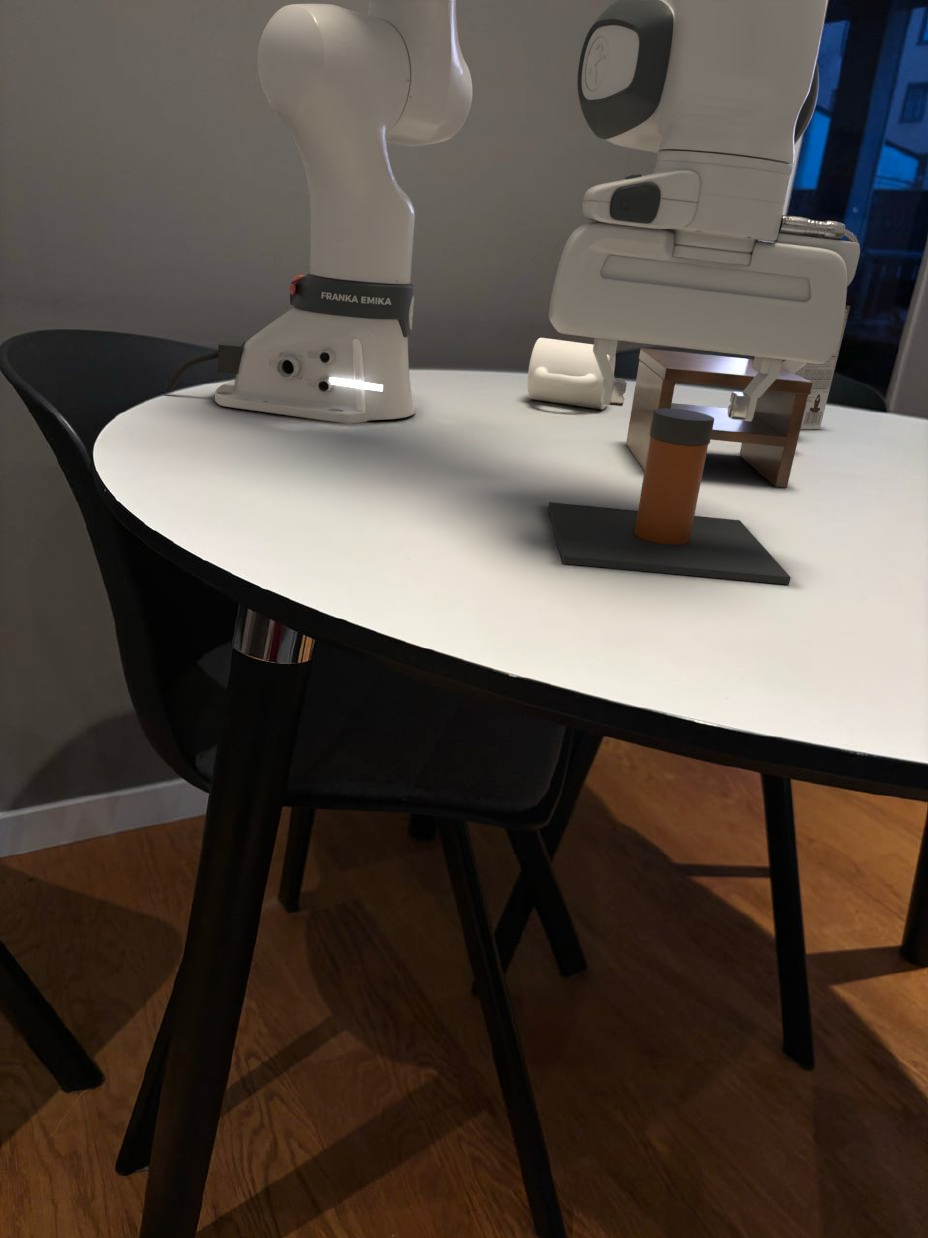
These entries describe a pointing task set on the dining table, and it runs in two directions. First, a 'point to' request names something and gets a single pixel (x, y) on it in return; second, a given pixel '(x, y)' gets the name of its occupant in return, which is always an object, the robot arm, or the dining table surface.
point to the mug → (566, 373)
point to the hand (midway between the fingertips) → (675, 411)
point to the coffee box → (819, 385)
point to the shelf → (762, 438)
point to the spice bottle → (672, 475)
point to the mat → (661, 546)
